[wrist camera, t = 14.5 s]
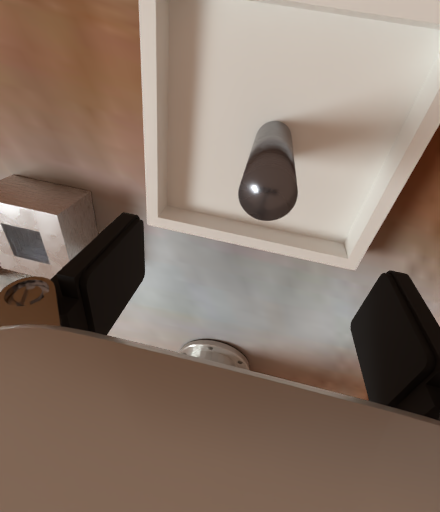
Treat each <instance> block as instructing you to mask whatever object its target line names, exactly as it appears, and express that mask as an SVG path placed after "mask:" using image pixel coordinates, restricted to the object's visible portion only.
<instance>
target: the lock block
mask: <svg viewBox="0 0 440 512" xmlns="http://www.w3.org/2000/svg"><path fill="white" fill-rule="evenodd" d="M97 236H98V232H97V226H96V220H95V214H94V208H93V203H92V197H91V191H86V190H82V189H77V188H72V187H68V186H63V185H58V184H54V183H49V182H44V181H40V180H35V179H30V178H26V177H21V176H16V175H11V176H9V177H6V178H4V179H2V180H0V266H1V268H3V269H7V270H11V271H15V272H20V273H24V274H28V275H32V276H37V277H44V278H48V279H51V278H52V277H53V276H55V275H56V273H57V272H58V271H59V270H61V269H62V268H63V267H64V266H65V265H66V264H67V263H68V262H69V261H70V260H72V259H73V258H74V257H75V256H76V255H77V254H78V253H79V252H80V251H81V250H82V249H84V248H85V247H86V246H87V245H88V244H89V243H90V242H91V241H92V240H93V239H95V238H96V237H97Z"/></svg>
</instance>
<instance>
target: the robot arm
mask: <svg viewBox="0 0 440 512" xmlns="http://www.w3.org/2000/svg"><path fill="white" fill-rule="evenodd" d="M144 275H145V259H144V226H143V221H142V220H140V219H139V216H138V215H134V214H129V213H122V214H121V215H120V216H119V217H117V218H116V219H115V220H114V221H113V222H112V223H111V224H110V225H109V226H108V227H107V228H105V229H104V230H103V231H102V232H101V233H100V234H99V235H98V236H97V237H96V238H95V239H93V240H92V241H91V242H90V243H89V244H88V245H87V246H86V247H85V248H84V249H82V250H81V251H80V252H79V253H78V254H77V255H76V256H75V257H74V258H73V259H72V260H70V261H69V262H68V263H67V264H66V265H65V266H64V267H63V268H62V269H61V270H59V271H58V272H57V273H56V275H55V276H53V277H52V278H51V279H48V278H44V277H37V276H34V277H26V278H23V279H19V280H17V281H14V282H12V283H10V284H9V285H7V286H6V287H4V288H3V289H2V291H1V292H0V512H440V327H439V325H438V323H437V322H436V320H435V318H434V317H433V315H432V313H431V312H430V310H429V308H428V307H427V305H426V303H425V302H424V300H423V298H422V297H421V295H420V293H419V292H418V290H417V288H416V287H415V285H414V284H413V282H412V280H411V279H410V277H409V276H408V275H407V274H404V273H400V272H395V271H388V272H387V273H383V274H381V275H380V277H379V278H378V280H377V282H376V283H375V285H374V286H373V288H372V289H371V291H370V293H369V294H368V296H367V297H366V299H365V301H364V302H363V304H362V305H361V307H360V309H359V310H358V312H357V313H356V315H355V317H354V318H353V320H352V322H351V332H352V336H353V340H354V344H355V348H356V352H357V356H358V359H359V363H360V367H361V371H362V375H363V379H364V382H365V386H366V390H367V394H368V398H369V401H367V400H363V399H359V398H355V397H352V396H348V395H344V394H340V393H336V392H332V391H328V390H324V389H321V388H317V387H313V386H309V385H305V384H301V383H297V382H293V381H289V380H286V379H282V378H278V377H274V376H270V375H266V374H262V373H258V372H254V371H250V367H249V363H248V361H247V359H246V358H245V356H244V355H243V354H242V353H240V352H239V351H238V350H236V349H235V348H233V347H231V346H229V345H227V344H224V343H221V342H217V341H212V340H197V341H192V342H189V343H187V344H186V345H184V346H183V347H182V348H181V350H180V352H179V353H178V352H174V351H170V350H166V349H162V348H158V347H154V346H150V345H146V344H142V343H137V342H133V341H129V340H125V339H120V338H116V337H112V336H107V334H108V332H109V331H110V329H111V328H112V326H113V325H114V323H115V322H116V320H117V319H118V317H119V316H120V314H121V313H122V311H123V310H124V308H125V306H126V305H127V303H128V302H129V300H130V299H131V297H132V296H133V294H134V293H135V291H136V290H137V288H138V287H139V285H140V284H141V282H142V280H143V278H144Z"/></svg>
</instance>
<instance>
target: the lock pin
mask: <svg viewBox="0 0 440 512" xmlns="http://www.w3.org/2000/svg"><path fill="white" fill-rule="evenodd" d="M297 197H298V188H297V179H296V171H295V162H294V153H293V144H292V135H291V132H290V129H289V128H288V126H287V125H286V124H284V123H282V122H280V121H269V122H267V123H265V124H264V125H262V126H261V127H260V128H259V130H258V132H257V134H256V137H255V140H254V143H253V146H252V149H251V152H250V155H249V158H248V161H247V164H246V168H245V171H244V174H243V177H242V180H241V183H240V186H239V190H238V198H239V202H240V204H241V206H242V208H243V209H244V211H245V212H246V213H247V214H248V215H250V216H251V217H253V218H255V219H258V220H262V221H273V220H277V219H280V218H282V217H284V216H285V215H287V214H288V213H289V212H290V211H291V210H292V208H293V207H294V205H295V203H296V201H297Z"/></svg>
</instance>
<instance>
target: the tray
mask: <svg viewBox="0 0 440 512" xmlns="http://www.w3.org/2000/svg"><path fill="white" fill-rule="evenodd" d="M139 22H140V48H141V75H142V101H143V127H144V154H145V180H146V207H147V225H151V226H155V227H160V228H164V229H169V230H173V231H178V232H183V233H187V234H192V235H196V236H201V237H205V238H210V239H214V240H219V241H223V242H228V243H232V244H237V245H242V246H246V247H251V248H255V249H260V250H264V251H269V252H273V253H278V254H282V255H287V256H291V257H296V258H300V259H305V260H310V261H314V262H319V263H323V264H328V265H332V266H337V267H341V268H346V269H350V270H356V268H357V267H358V265H359V263H360V261H361V260H362V258H363V256H364V254H365V253H366V251H367V249H368V247H369V246H370V244H371V242H372V241H373V239H374V237H375V235H376V234H377V232H378V230H379V228H380V227H381V225H382V223H383V221H384V220H385V218H386V216H387V215H388V213H389V211H390V209H391V208H392V206H393V204H394V202H395V201H396V199H397V197H398V195H399V194H400V192H401V190H402V189H403V187H404V185H405V183H406V182H407V180H408V178H409V176H410V175H411V173H412V171H413V169H414V168H415V166H416V164H417V162H418V161H419V159H420V157H421V156H422V154H423V152H424V150H425V149H426V147H427V145H428V143H429V142H430V140H431V138H432V136H433V135H434V133H435V131H436V130H437V128H438V126H439V124H440V0H139ZM269 121H280V122H282V123H284V124H286V125H287V126H288V128H289V129H290V132H291V135H292V144H293V153H294V162H295V171H296V179H297V188H298V197H297V201H296V203H295V205H294V207H293V208H292V210H291V211H290V212H289V213H288V214H287V215H285V216H284V217H282V218H280V219H277V220H273V221H262V220H258V219H255V218H253V217H251V216H250V215H248V214H247V213H246V212H245V211H244V209H243V208H242V206H241V204H240V202H239V198H238V190H239V186H240V183H241V180H242V177H243V174H244V171H245V168H246V164H247V161H248V158H249V155H250V152H251V149H252V146H253V143H254V140H255V137H256V134H257V132H258V130H259V128H260V127H261V126H262V125H264V124H265V123H267V122H269Z"/></svg>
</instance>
